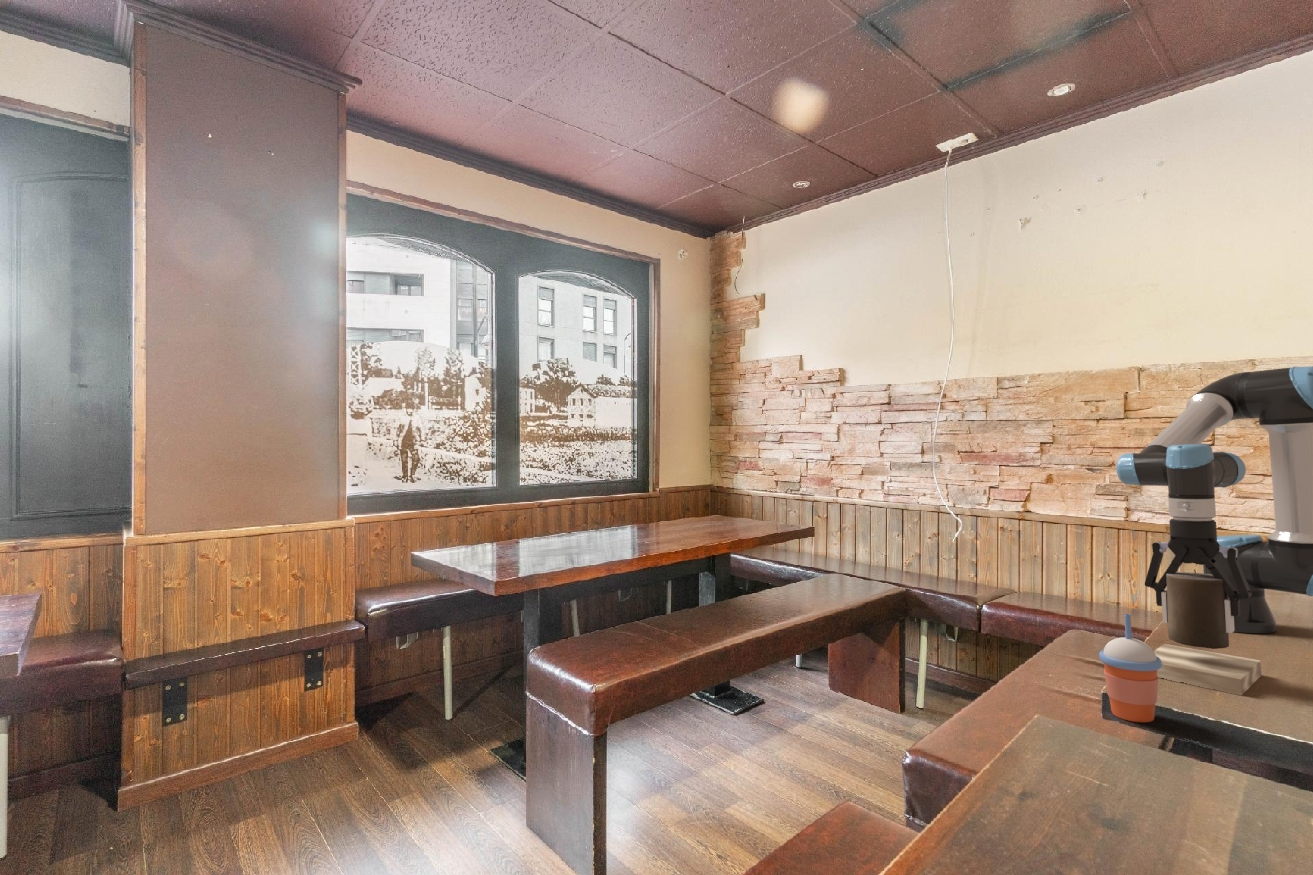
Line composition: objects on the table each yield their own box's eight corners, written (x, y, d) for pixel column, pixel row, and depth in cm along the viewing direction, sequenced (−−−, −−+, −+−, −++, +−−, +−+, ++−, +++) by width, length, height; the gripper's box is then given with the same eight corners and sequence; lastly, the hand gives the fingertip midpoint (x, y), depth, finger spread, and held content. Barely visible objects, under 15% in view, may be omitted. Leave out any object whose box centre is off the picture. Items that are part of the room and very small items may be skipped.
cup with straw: (1167, 713, 116) (1162, 612, 117) (1161, 731, 110) (1156, 623, 110) (1106, 701, 123) (1101, 605, 123) (1097, 717, 116) (1092, 616, 116)
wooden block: (1165, 657, 146) (1164, 643, 146) (1261, 675, 133) (1260, 660, 133) (1140, 674, 136) (1140, 659, 136) (1241, 695, 123) (1240, 679, 123)
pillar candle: (1212, 651, 128) (1209, 575, 129) (1157, 639, 137) (1155, 567, 137) (1239, 645, 132) (1237, 570, 132) (1185, 633, 141) (1182, 563, 141)
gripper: (1122, 516, 142) (1127, 619, 141) (1259, 523, 124) (1266, 641, 124) (1134, 513, 146) (1139, 613, 146) (1268, 520, 129) (1274, 634, 128)
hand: (1197, 626), depth 135 cm, fingers closed on pillar candle, 10 cm apart
